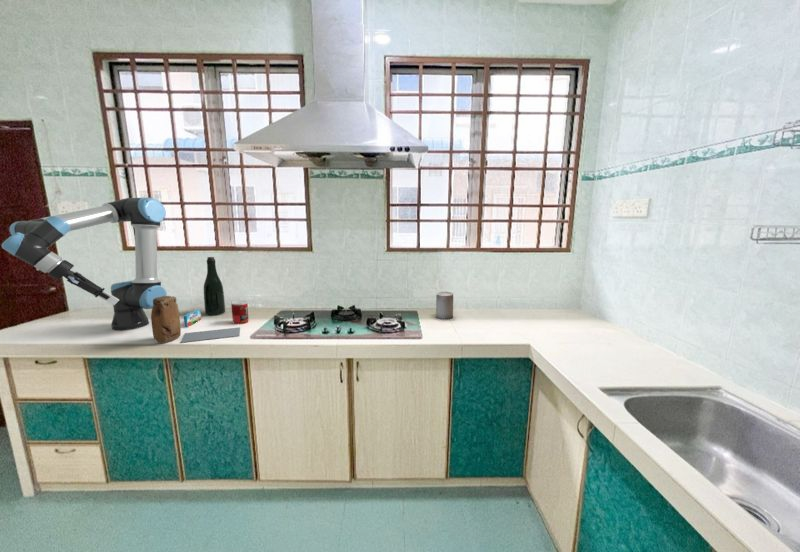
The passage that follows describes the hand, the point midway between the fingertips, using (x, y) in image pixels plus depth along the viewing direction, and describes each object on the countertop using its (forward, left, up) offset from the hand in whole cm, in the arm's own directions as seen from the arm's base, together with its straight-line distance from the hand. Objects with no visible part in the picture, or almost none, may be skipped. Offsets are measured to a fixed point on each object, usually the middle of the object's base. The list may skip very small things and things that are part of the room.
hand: (116, 302), depth 146 cm
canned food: (-21, +46, -20) cm, 54 cm away
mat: (-4, +34, -20) cm, 39 cm away
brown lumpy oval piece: (-4, +16, -20) cm, 26 cm away
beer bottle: (-44, +32, -20) cm, 58 cm away
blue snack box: (-27, +23, -20) cm, 40 cm away
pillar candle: (+10, +153, -20) cm, 154 cm away
